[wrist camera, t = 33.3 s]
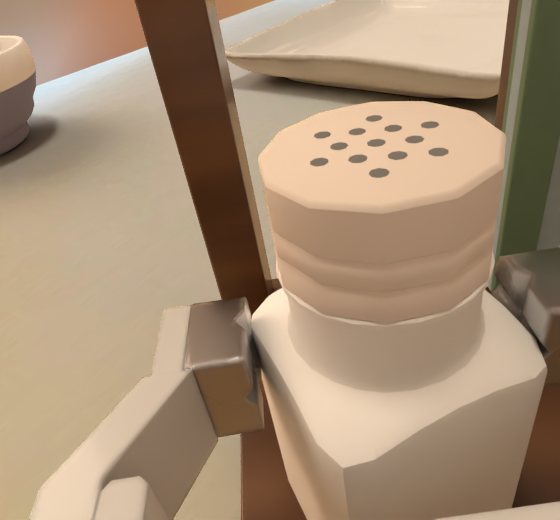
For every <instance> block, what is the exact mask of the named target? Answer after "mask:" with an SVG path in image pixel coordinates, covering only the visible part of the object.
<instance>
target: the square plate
mask: <svg viewBox="0 0 560 520" xmlns="http://www.w3.org/2000/svg"><path fill="white" fill-rule="evenodd" d="M508 7H509V0H336V1H333V2H330V3H328V4H325V5H323V6H320V7H318V8H315V9H313V10H310V11H308V12H306V13H303V14H301V15H299V16H297V17H294V18H292V19H290V20H288V21H285V22H283V23H281V24H279V25H277V26H274V27H272V28H270V29H268V30H266V31H264V32H262V33H259V34H257V35H255V36H253V37H251V38H249V39H247V40H245V41H243V42H240V43H238V44H236V45H234V46H232V47H229V48H227V49H225V54H226V58H227V60H229V61H230V62H232V63H233V64H235V65H237V66H239V67H241V68H243V69H245V70H248V71H251V72H254V73H258V74H263V75H271V76H279V77H287V78H289V79H291V80H294V81H298V82H305V83H312V84H319V85H327V86H336V87H344V88H352V89H361V90H369V91H377V92H384V93H392V94H400V95H408V96H416V97H425V98H472V99H483V98H488V97H492V96H495V95H497V94H498V92H499V84H500V75H501V67H502V58H503V50H504V41H505V33H506V24H507V16H508Z"/></svg>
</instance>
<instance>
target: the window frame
mask: <svg viewBox="0 0 560 520" xmlns="http://www.w3.org/2000/svg"><path fill="white" fill-rule="evenodd" d="M135 4H136V7H137V11H138V14H139V18H140V21H141V24H142V28H143V31H144V35H145V38H146V42H147V45H148V48H149V52H150V55H151V59H152V62H153V66H154V69H155V72H156V76H157V79H158V83H159V86H160V90H161V93H162V96H163V100H164V103H165V107H166V110H167V114H168V117H169V120H170V124H171V127H172V131H173V134H174V138H175V141H176V144H177V148H178V151H179V155H180V158H181V162H182V165H183V168H184V172H185V175H186V179H187V182H188V186H189V189H190V193H191V196H192V199H193V203H194V206H195V210H196V213H197V217H198V220H199V223H200V227H201V230H202V234H203V237H204V241H205V244H206V247H207V251H208V254H209V258H210V261H211V265H212V268H213V271H214V275H215V278H216V282H217V285H218V289H219V292H220V295H221V299H222V300H225V299H233V298H240V297H246V299H247V301H248V305H249V308H250V312H251V319H252V315H253V314H254V312H255V311H256V310H257V309H258V308H259V306H260V305H261V304H262V303H263V302H264V301H265V299H266V298H267V297H268V296H269V295H271V294H272V293H274V292H276V291H277V290H279V289H281V288H282V286H281V284H280V282H279V279H271V274H270V269H269V264H268V260H267V255H266V250H265V245H264V240H263V235H262V230H261V225H260V220H259V215H258V210H257V206H256V201H255V196H254V191H253V186H252V181H251V176H250V171H249V166H248V161H247V157H246V152H245V147H244V142H243V137H242V132H241V127H240V122H239V117H238V112H237V107H236V103H235V98H234V93H233V88H232V83H231V78H230V73H229V68H228V63H227V58H226V54H225V49H224V44H223V39H222V34H221V29H220V24H219V19H218V14H217V10H216V5H215V0H135ZM517 8H518V0H509V7H508V16H507V24H506V33H505V41H504V50H503V58H502V67H501V75H500V84H499V92H498V101H497V109H496V117H495V127H496V128H498V129H499V130H501V131H502V125H503V117H504V110H505V102H506V94H507V86H508V78H509V71H510V63H511V55H512V47H513V39H514V32H515V24H516V16H517ZM485 290H486V291H487V292H488V293H490V294H491V291H490V290H489V288H488V286H487V287H486V289H485ZM259 384H260V388H261V392H262V396H263V410H264V429H262V430H257V431H251V432H245V433H241V520H307V519H306V516H305V514H304V512H303V510H302V508H301V506H300V504H299V502H298V500H297V498H296V495H295V493H294V491H293V489H292V487H291V485H290V483H289V481H288V477H287V473H286V470H285V466H284V462H283V458H282V454H281V450H280V446H279V443H278V439H277V435H276V431H275V427H274V423H273V420H272V416H271V412H270V408H269V404H268V400H267V397H266V393H265V389H264V385H263V381H262V379H261V381H260V382H259ZM559 501H560V386H552V387H544V388H543V390H542V394H541V398H540V402H539V406H538V409H537V413H536V417H535V421H534V425H533V428H532V432H531V436H530V440H529V444H528V447H527V451H526V455H525V459H524V463H523V467H522V470H521V474H520V478H519V482H518V486H517V489H516V493H515V497H514V501H513V505H512V508H517V507H524V506H531V505H538V504H545V503H552V502H559Z"/></svg>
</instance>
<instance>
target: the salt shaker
mask: <svg viewBox="0 0 560 520" xmlns="http://www.w3.org/2000/svg"><path fill="white" fill-rule="evenodd" d="M505 148H506V135H505V133H503V132H502V131H501V130H499V129H498V128H496V127H495V126H494V125H492V124H491V123H489V122H488V121H487V120H485V119H484V118H482V117H481V116H480V115H478V114H477V113H476V112H473V111H469V110H464V109H459V108H455V107H450V106H445V105H441V104H436V103H431V102H427V101H384V102H368V103H363V104H358V105H353V106H348V107H343V108H338V109H333V110H328V111H323V112H321V113H318V114H316V115H314V116H312V117H310V118H307V119H305V120H303V121H301V122H299V123H296V124H294V125H292V126H290V127H288V128H285V129H283V130H281V131H280V132H279V133H278V134H277V135H276V136H275V138H274V139H273V140H272V141H271V142H270V143H269V144H268V145H267V147H266V148H265V149H264V150H263V151H262V152H261V153H260V155H259V156H258V164H259V169H260V174H261V179H262V185H263V190H264V195H265V200H266V204H267V211H268V216H269V221H270V226H271V230H272V237H273V242H274V248H275V253H276V273H277V277H278V279H279V282H280V284H281V286H282V288H281V289H279V290H277V291H276V292H274V293H272V294H271V295H269V296H268V297H267V298H266V299H265V301H264V302H263V303H262V304H261V305H260V306H259V308H258V309H257V310H256V311H255V312H254V314H253V315H252V319H251V331H252V338H253V341H254V343H255V345H256V349H257V353H258V357H259V361H260V365H261V371H262V381H263V385H264V389H265V393H266V397H267V400H268V404H269V408H270V412H271V416H272V420H273V423H274V427H275V431H276V435H277V439H278V443H279V446H280V450H281V454H282V458H283V462H284V466H285V470H286V473H287V477H288V481H289V483H290V485H291V487H292V489H293V491H294V493H295V495H296V498H297V500H298V502H299V504H300V506H301V508H302V510H303V512H304V514H305V516H306V519H307V520H432V519H439V518H446V517H453V516H460V515H467V514H474V513H481V512H488V511H495V510H502V509H509V508H512V505H513V501H514V497H515V493H516V489H517V486H518V482H519V478H520V474H521V470H522V467H523V463H524V459H525V455H526V451H527V447H528V444H529V440H530V436H531V432H532V428H533V425H534V421H535V417H536V413H537V409H538V406H539V402H540V398H541V394H542V390H543V387H544V383H545V379H546V375H547V371H548V370H547V366H546V363H545V361H544V358H543V356H542V353H541V351H540V348H539V346H538V344H537V341H536V339H535V337H534V336H533V335H532V334H531V333H530V332H529V331H528V330H527V329H526V328H525V327H524V326H523V325H522V324H521V323H520V322H519V321H518V320H517V319H516V318H515V317H514V316H513V315H512V314H511V313H510V312H509V311H508V310H507V308H506V307H505V306H504V305H502V304H501V303H500V302H499V301H498V300H497V299H495V298H494V297H493V296H492V295H491V294H490V293H488V292H487V291H486V290H485V289H486V287H487V286H488V284H489V281H490V278H491V275H492V272H493V269H494V263H495V262H494V255H493V244H494V237H495V229H496V220H497V214H498V207H499V199H500V192H501V185H502V177H503V170H504V159H505Z"/></svg>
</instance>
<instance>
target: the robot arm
mask: <svg viewBox="0 0 560 520" xmlns="http://www.w3.org/2000/svg"><path fill="white" fill-rule="evenodd" d="M494 275H495V276H496V278H497V279H498V281H499V282H500V284H499V285H498V287H497V288H496V289H495V290H494V291H493V292H492V293H491V295H492V296H493V297H494V298H495V299H497V300H498V301H499V302H500V303H501V304H502V305H504V306H505V307H506V308H507V310H508V311H509V312H510V313H511V314H512V315H513V316H514V317H515V318H516V319H517V320H518V321H519V322H520V323H521V324H522V325H523V326H524V327H525V328H526V329H527V330H528V331H529V332H530V333H531V334H532V335H533V336H534V337H535V339H536V341H537V344H538V346H539V348H540V351H541V353H542V356H543V358H544V361H545V363H546V366H547V370H548V371H547V375H546V379H545V383H544V387H552V386H560V246H557V247H555V248H549V249H543V250H537V251H531V252H525V253H518V254H512V255H506V256H500V257H499V259H498V261H497V262H496V266H495V273H494ZM261 379H262V371H261V365H260V361H259V357H258V353H257V349H256V345H255V343H254V341H253V338H252V331H251V312H250V308H249V305H248V301H247V299H246V297H240V298H233V299H225V300H218V301H211V302H203V303H196V304H193V305H184V306H177V307H170V308H166V309H165V311H164V312H163V314H162V318H161V323H160V328H159V334H158V339H157V345H156V350H155V355H154V361H153V366H152V371H151V376H146V377H142V378H141V379H140V380H139V381H138V383H137V384H136V385H135V386H134V387H133V388H132V389H131V390H130V391H129V392H128V393H127V394H126V396H125V397H124V398H123V399H122V400H121V401H120V402H119V403H118V404H117V405H116V406H115V407H114V408H113V410H112V411H111V412H110V413H109V414H108V415H107V416H106V417H105V418H104V419H103V420H102V421H101V423H100V424H99V425H98V426H97V427H96V428H95V429H94V430H93V431H92V432H91V433H90V434H89V435H88V437H87V438H86V439H85V440H84V441H83V442H82V443H81V444H80V445H79V446H78V447H77V448H76V450H75V451H74V452H73V453H72V454H71V455H70V456H69V457H68V458H67V459H66V460H65V461H64V462H63V464H62V465H61V466H60V467H59V468H58V469H57V470H56V471H55V472H54V473H53V474H52V475H51V477H50V478H49V479H48V480H47V481H46V482H45V483H44V484H43V485H42V486H41V487H40V489H39V492H38V495H37V497H36V500H35V503H34V506H33V509H32V512H31V515H30V518H29V520H173V518H174V517H175V515H176V513H177V512H178V510H179V508H180V506H181V505H182V503H183V501H184V499H185V498H186V496H187V494H188V492H189V491H190V489H191V487H192V485H193V484H194V482H195V480H196V478H197V477H198V475H199V473H200V471H201V470H202V468H203V466H204V464H205V463H206V461H207V459H208V457H209V456H210V454H211V452H212V450H213V449H214V447H215V445H216V443H217V442H218V438H217V437H223V436H229V435H234V434H240V433H245V432H251V431H257V430H262V429H264V410H263V396H262V392H261V388H260V384H259V382H260V381H261ZM544 387H543V388H544ZM432 520H560V501H559V502H552V503H545V504H538V505H531V506H524V507H517V508H509V509H502V510H495V511H488V512H481V513H474V514H467V515H460V516H453V517H446V518H439V519H432Z"/></svg>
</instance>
